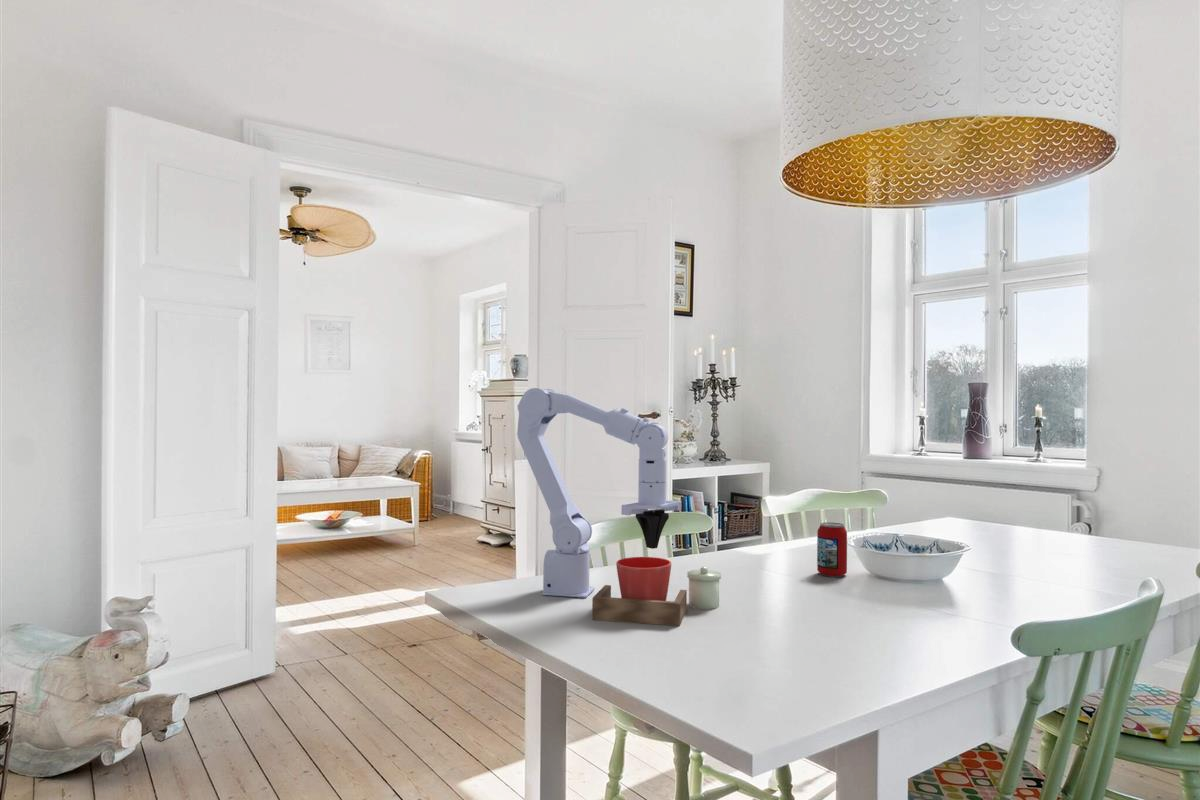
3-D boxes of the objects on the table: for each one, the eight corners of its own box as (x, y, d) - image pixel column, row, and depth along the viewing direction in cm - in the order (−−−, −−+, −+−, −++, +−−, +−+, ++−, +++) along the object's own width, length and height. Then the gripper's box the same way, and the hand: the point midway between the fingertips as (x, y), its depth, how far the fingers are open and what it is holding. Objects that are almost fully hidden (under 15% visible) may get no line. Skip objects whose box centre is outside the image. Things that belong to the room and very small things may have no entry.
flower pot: (606, 615, 142) (606, 564, 142) (629, 602, 152) (630, 554, 152) (658, 623, 137) (658, 569, 138) (679, 609, 147) (679, 559, 147)
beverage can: (811, 573, 181) (811, 522, 181) (833, 570, 184) (833, 521, 184) (830, 578, 175) (831, 526, 175) (853, 576, 178) (853, 525, 178)
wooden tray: (592, 619, 139) (592, 597, 139) (604, 605, 150) (605, 584, 150) (679, 625, 136) (679, 603, 136) (686, 610, 146) (686, 590, 146)
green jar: (685, 608, 148) (685, 569, 148) (689, 600, 154) (689, 562, 154) (719, 610, 146) (719, 571, 146) (721, 602, 153) (721, 564, 153)
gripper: (636, 485, 148) (636, 554, 148) (691, 481, 157) (691, 547, 157) (615, 482, 154) (614, 548, 154) (669, 478, 162) (668, 542, 162)
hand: (651, 547), depth 156 cm, fingers closed
